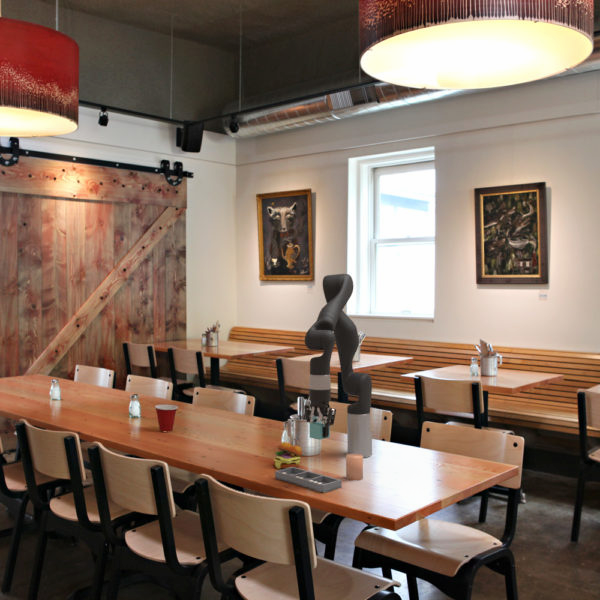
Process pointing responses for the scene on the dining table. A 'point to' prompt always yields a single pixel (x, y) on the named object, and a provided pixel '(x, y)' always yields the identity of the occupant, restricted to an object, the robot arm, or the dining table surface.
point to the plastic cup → (166, 416)
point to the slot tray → (308, 479)
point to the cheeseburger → (287, 456)
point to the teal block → (317, 430)
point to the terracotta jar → (354, 467)
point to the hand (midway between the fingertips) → (319, 436)
